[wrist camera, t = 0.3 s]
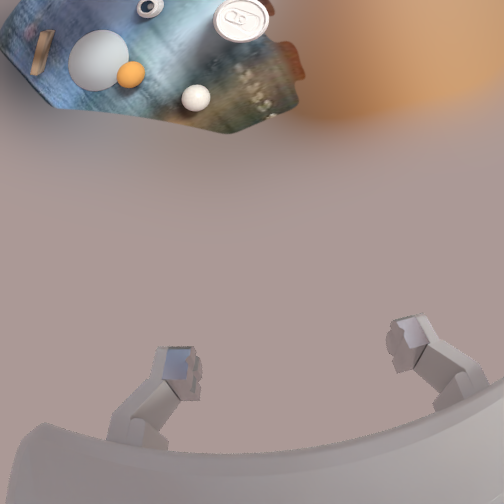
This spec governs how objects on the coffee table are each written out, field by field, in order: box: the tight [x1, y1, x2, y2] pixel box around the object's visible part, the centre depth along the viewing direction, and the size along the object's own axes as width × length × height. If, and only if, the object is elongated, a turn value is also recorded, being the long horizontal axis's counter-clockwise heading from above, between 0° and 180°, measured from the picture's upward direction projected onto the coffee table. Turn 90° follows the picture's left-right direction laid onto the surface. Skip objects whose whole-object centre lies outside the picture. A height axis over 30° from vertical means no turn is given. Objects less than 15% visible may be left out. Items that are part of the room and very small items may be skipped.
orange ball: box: [117, 61, 145, 88], centre depth 39 cm, size 6×6×6 cm
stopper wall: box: [30, 29, 55, 76], centre depth 30 cm, size 10×2×3 cm, turn 149°
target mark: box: [68, 30, 129, 91], centre depth 37 cm, size 14×14×1 cm
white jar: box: [137, 0, 164, 18], centre depth 30 cm, size 5×3×5 cm
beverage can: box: [213, 0, 269, 43], centre depth 31 cm, size 8×8×12 cm
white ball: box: [182, 85, 210, 111], centre depth 45 cm, size 6×6×6 cm
